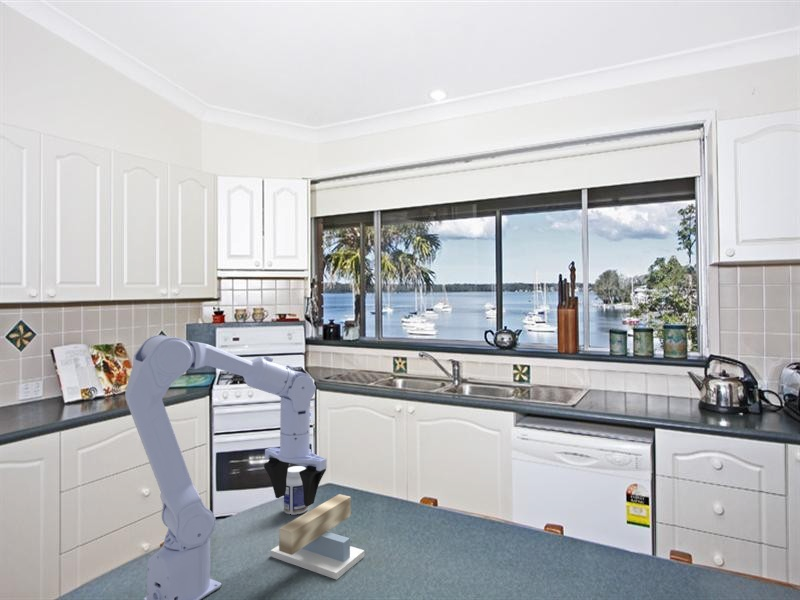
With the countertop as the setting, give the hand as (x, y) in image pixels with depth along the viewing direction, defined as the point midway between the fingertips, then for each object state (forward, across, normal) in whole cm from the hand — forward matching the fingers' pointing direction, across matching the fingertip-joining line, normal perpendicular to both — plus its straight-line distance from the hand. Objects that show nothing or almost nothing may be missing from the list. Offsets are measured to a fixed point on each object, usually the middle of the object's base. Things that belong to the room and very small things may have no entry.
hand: (294, 500), depth 94 cm
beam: (+6, -5, -1) cm, 8 cm away
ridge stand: (+10, -5, -1) cm, 12 cm away
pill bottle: (+10, +13, -15) cm, 23 cm away
